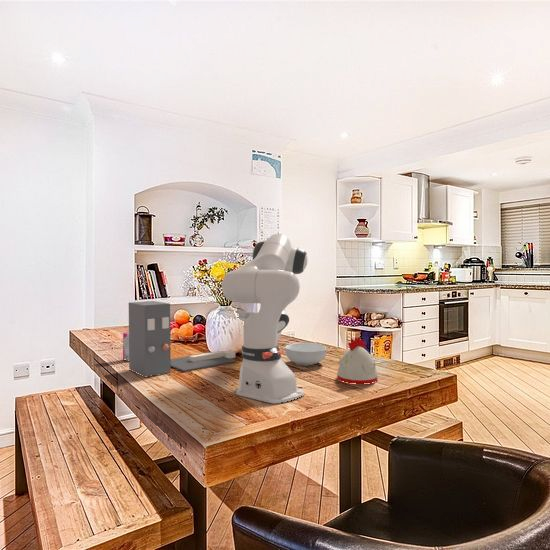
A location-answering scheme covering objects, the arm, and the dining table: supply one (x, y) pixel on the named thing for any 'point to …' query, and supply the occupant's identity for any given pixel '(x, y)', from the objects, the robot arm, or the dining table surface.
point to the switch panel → (149, 337)
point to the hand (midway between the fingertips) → (231, 309)
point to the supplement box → (126, 346)
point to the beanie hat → (357, 364)
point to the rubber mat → (198, 363)
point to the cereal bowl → (305, 353)
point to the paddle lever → (212, 355)
